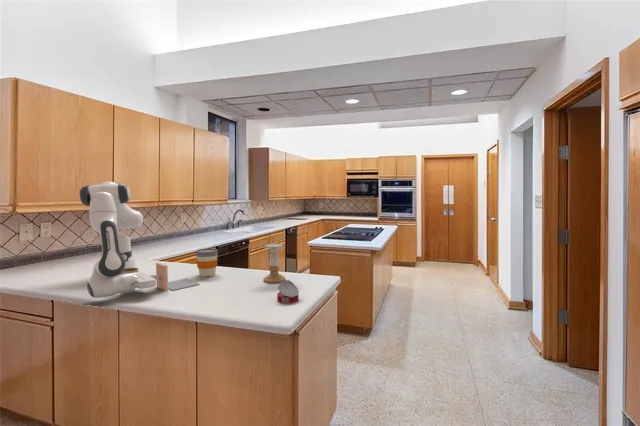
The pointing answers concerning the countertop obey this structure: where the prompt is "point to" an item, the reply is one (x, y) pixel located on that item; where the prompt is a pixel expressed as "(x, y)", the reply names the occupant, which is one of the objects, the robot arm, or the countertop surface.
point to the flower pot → (129, 270)
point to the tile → (162, 276)
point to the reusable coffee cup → (207, 261)
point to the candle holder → (274, 265)
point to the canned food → (287, 292)
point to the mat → (181, 284)
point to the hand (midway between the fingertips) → (159, 276)
